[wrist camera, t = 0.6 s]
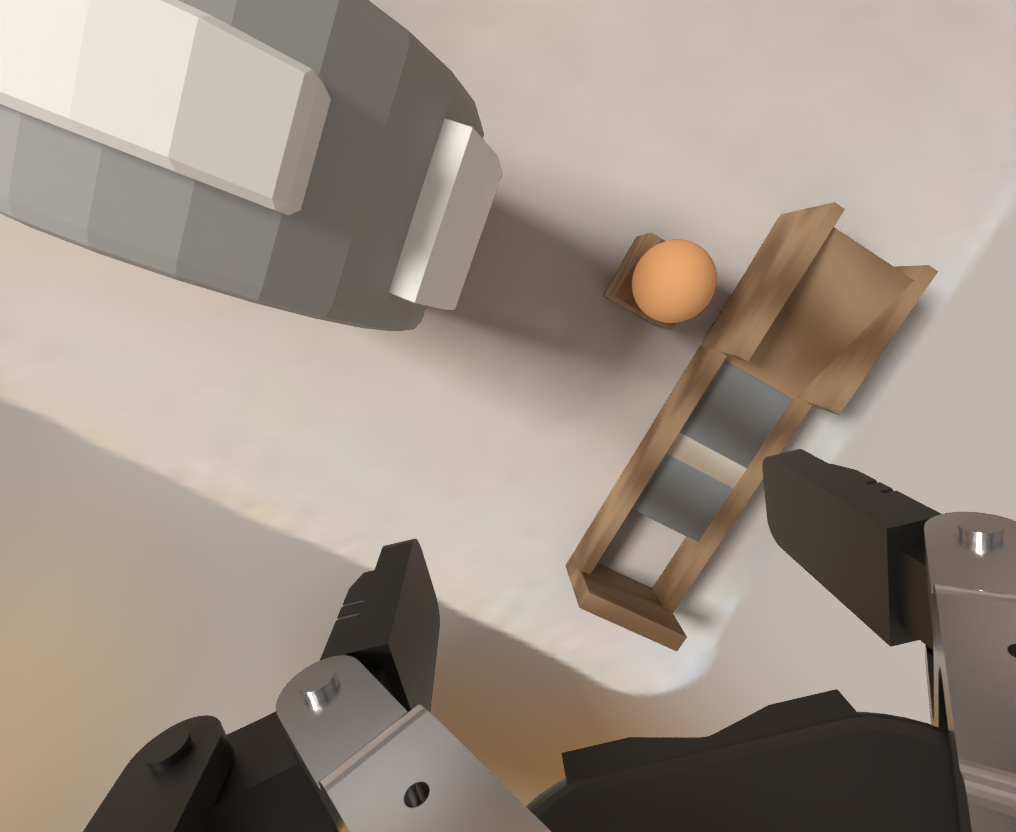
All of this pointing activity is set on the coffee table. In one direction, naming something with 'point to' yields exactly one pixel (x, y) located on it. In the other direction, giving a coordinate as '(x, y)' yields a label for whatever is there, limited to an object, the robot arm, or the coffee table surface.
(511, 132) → the coffee table surface
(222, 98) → the alarm clock
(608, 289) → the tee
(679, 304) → the ball
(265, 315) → the coffee table surface
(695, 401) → the lane
